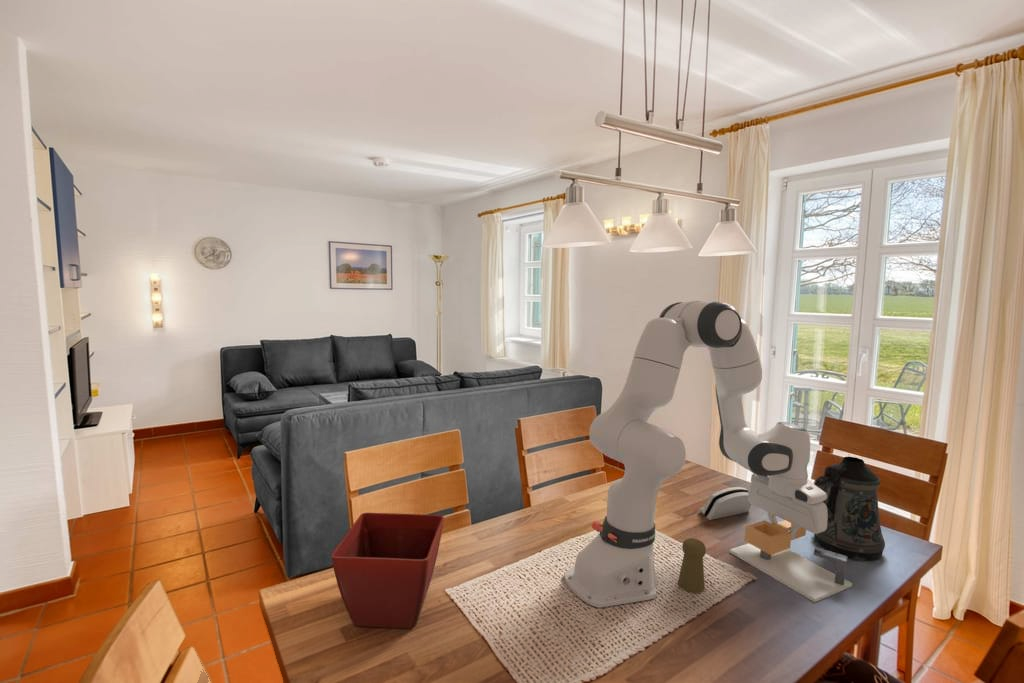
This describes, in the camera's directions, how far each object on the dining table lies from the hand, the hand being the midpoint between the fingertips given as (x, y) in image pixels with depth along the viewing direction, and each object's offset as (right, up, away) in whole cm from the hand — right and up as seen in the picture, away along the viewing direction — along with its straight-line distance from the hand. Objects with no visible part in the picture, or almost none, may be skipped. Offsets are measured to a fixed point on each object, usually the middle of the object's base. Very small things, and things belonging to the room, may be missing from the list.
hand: (782, 533), depth 132 cm
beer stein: (+20, -6, +5) cm, 21 cm away
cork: (-30, -7, -14) cm, 34 cm away
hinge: (-5, -3, +23) cm, 24 cm away
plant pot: (-98, -6, -26) cm, 101 cm away
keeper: (+5, -7, -11) cm, 14 cm away
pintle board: (-2, -7, -6) cm, 9 cm away
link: (-1, -2, 0) cm, 2 cm away
